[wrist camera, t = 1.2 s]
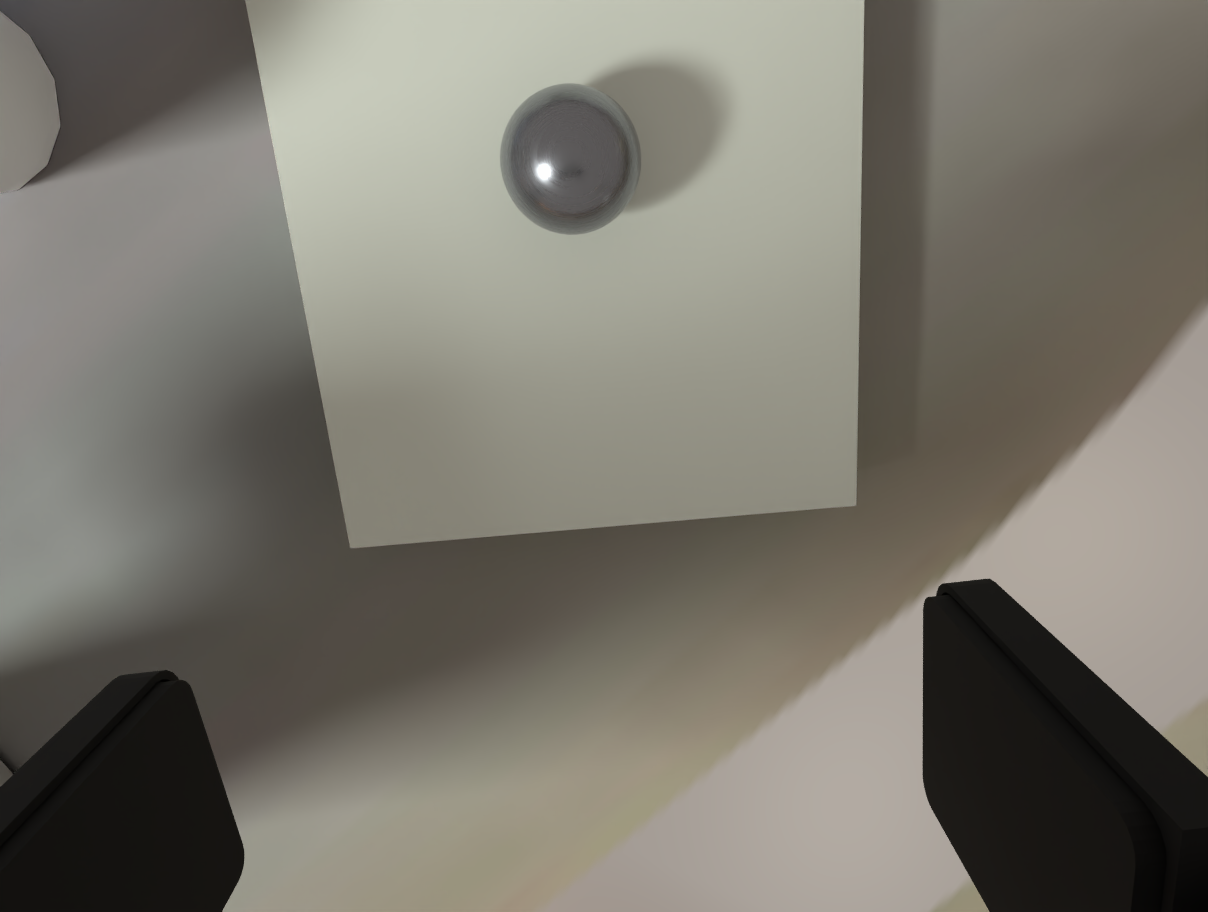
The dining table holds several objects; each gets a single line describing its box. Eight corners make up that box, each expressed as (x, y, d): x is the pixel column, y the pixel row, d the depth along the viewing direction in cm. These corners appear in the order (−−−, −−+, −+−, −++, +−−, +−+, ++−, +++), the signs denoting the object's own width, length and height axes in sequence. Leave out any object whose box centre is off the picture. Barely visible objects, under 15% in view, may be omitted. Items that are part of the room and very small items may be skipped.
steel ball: (640, 228, 24) (651, 228, 20) (514, 239, 24) (501, 241, 20) (631, 90, 23) (641, 63, 19) (499, 102, 23) (483, 76, 19)
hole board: (830, 478, 30) (856, 505, 27) (372, 517, 30) (350, 548, 27) (835, -538, 21) (874, -658, 18) (192, -485, 21) (131, -596, 18)
